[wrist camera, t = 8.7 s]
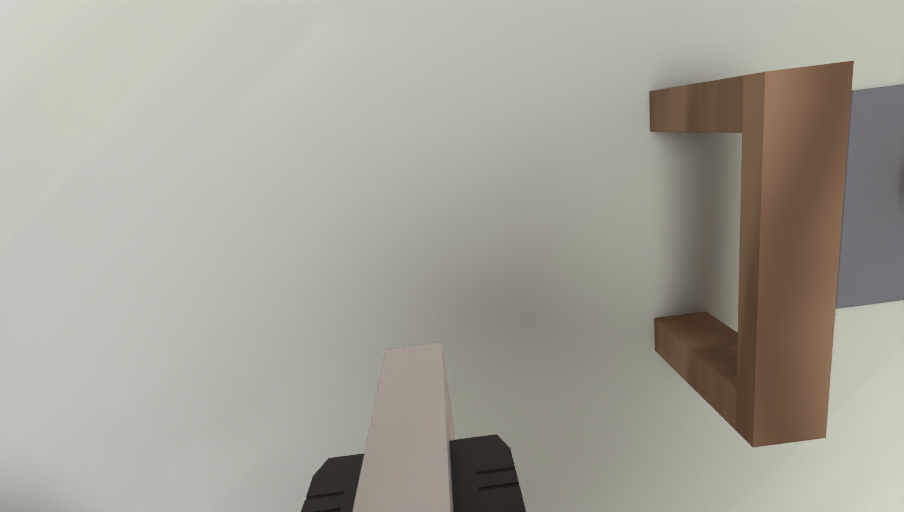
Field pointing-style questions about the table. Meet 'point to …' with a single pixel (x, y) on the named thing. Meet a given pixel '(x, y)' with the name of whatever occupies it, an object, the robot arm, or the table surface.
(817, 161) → the bridge
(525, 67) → the table surface
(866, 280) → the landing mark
